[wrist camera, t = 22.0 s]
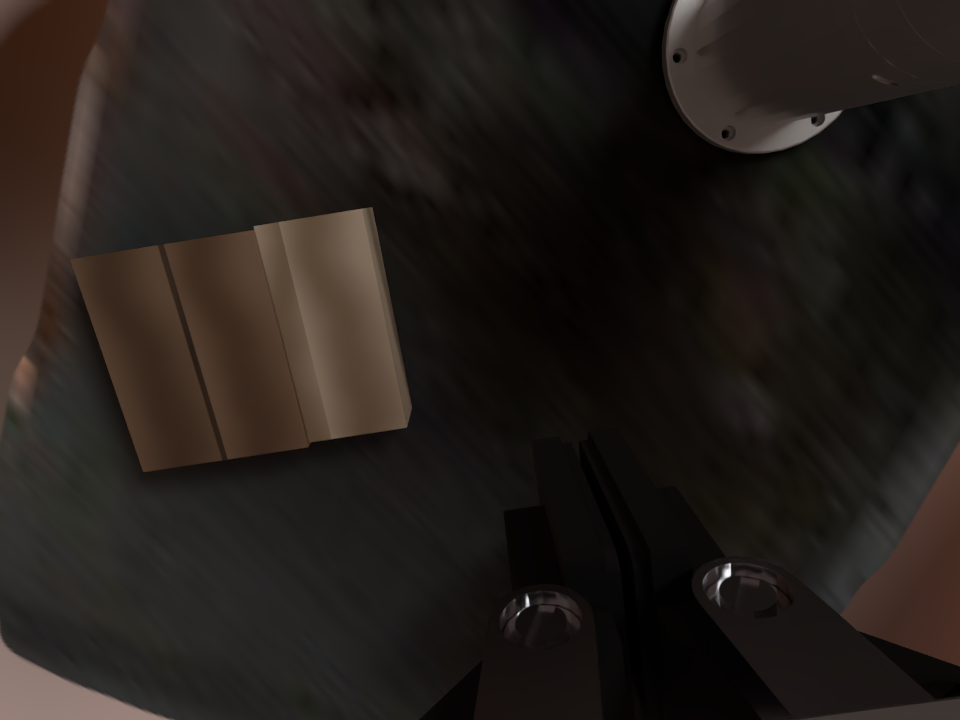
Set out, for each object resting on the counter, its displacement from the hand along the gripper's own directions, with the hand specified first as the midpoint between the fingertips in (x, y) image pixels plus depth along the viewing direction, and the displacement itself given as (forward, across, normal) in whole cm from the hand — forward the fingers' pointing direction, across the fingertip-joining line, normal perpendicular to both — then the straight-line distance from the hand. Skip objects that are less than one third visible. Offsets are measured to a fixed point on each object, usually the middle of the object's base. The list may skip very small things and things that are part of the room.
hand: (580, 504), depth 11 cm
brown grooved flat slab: (+29, +20, +1) cm, 35 cm away
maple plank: (+29, +10, +1) cm, 31 cm away
